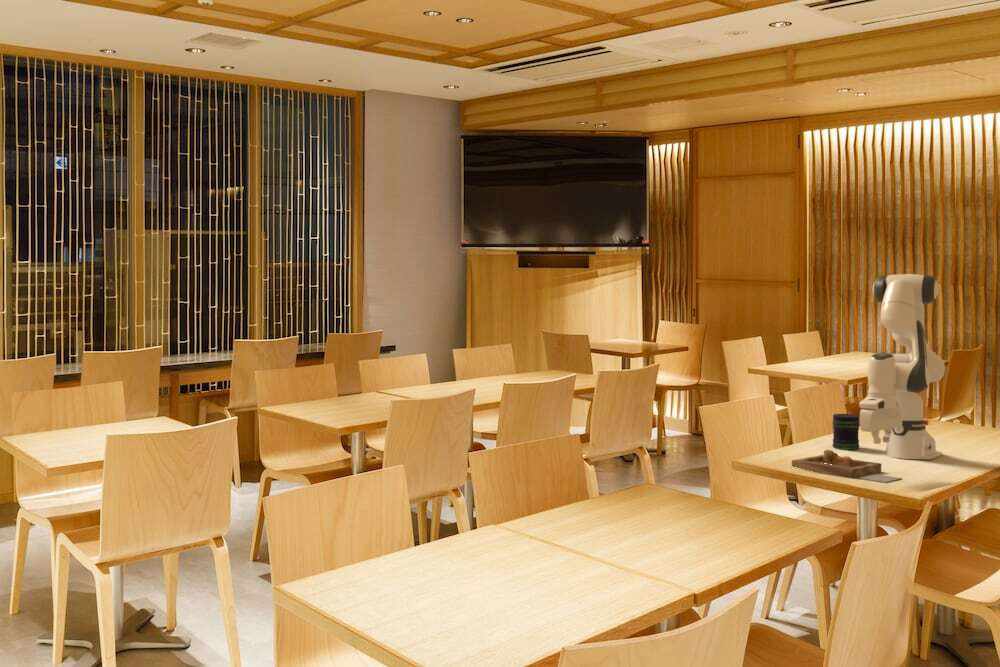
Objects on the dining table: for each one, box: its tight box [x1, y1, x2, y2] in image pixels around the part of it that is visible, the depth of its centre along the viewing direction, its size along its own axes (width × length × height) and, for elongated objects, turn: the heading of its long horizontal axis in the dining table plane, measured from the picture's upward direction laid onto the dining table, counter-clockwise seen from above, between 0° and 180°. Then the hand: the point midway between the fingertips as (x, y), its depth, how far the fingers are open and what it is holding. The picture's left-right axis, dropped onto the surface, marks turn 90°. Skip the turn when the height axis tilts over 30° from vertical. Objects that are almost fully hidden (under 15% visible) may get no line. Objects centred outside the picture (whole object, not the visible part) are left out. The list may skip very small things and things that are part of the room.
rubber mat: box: [857, 473, 903, 484], centre depth 322 cm, size 10×10×1 cm
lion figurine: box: [822, 449, 854, 468], centre depth 337 cm, size 12×4×7 cm, turn 59°
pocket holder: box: [791, 454, 882, 479], centre depth 339 cm, size 18×24×3 cm
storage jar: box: [832, 413, 860, 451], centre depth 376 cm, size 10×10×15 cm
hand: (881, 442), depth 321 cm, fingers open, 4 cm apart
